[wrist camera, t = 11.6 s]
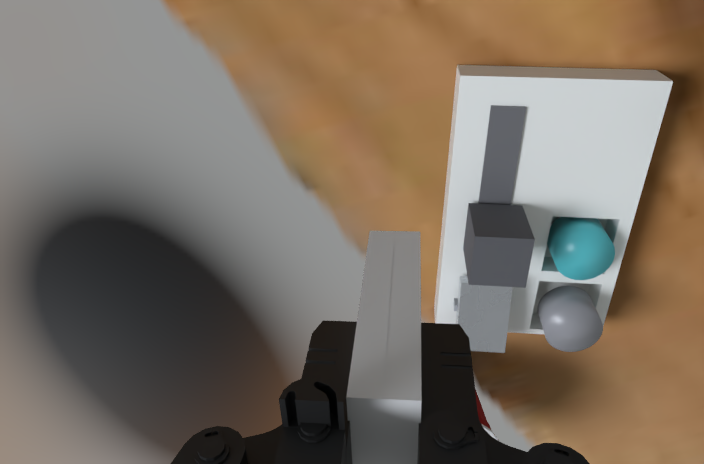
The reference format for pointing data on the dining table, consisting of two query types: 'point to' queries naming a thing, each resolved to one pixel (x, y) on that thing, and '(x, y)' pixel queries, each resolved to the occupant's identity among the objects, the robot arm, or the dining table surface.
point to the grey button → (569, 319)
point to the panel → (547, 166)
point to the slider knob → (497, 245)
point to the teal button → (580, 247)
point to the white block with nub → (484, 315)
